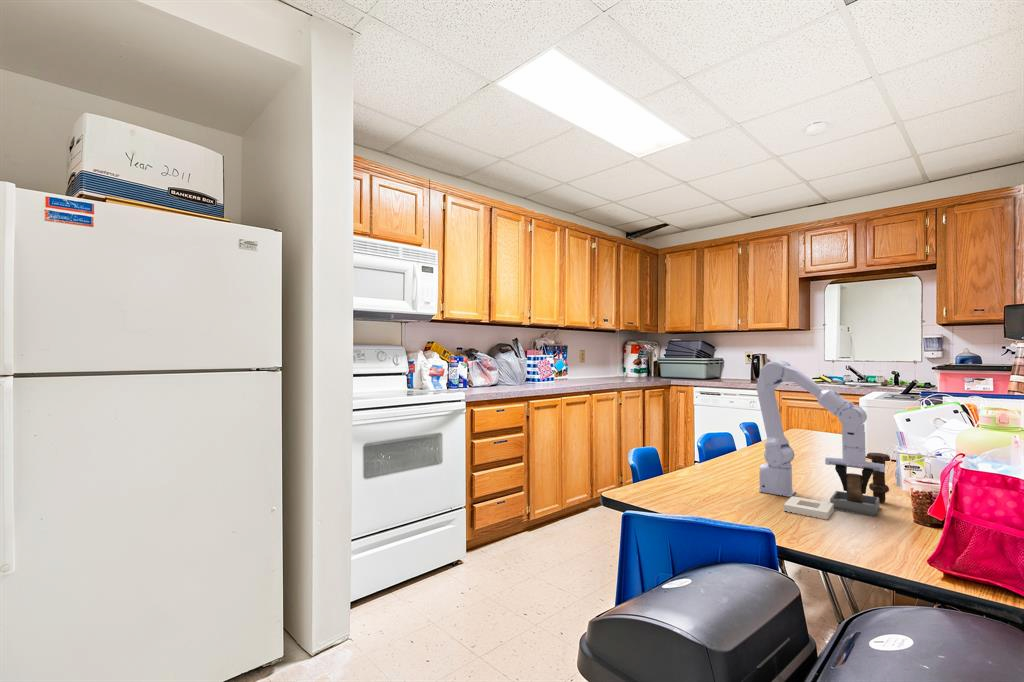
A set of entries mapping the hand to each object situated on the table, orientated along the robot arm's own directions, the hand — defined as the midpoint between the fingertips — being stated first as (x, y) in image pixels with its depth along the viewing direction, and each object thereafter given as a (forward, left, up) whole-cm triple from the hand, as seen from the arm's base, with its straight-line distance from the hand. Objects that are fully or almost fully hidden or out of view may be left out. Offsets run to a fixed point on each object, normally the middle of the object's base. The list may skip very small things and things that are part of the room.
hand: (854, 491), depth 146 cm
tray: (0, 0, -5) cm, 5 cm away
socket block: (-10, -12, -5) cm, 16 cm away
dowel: (0, 0, -3) cm, 3 cm away
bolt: (+5, +12, -5) cm, 14 cm away
